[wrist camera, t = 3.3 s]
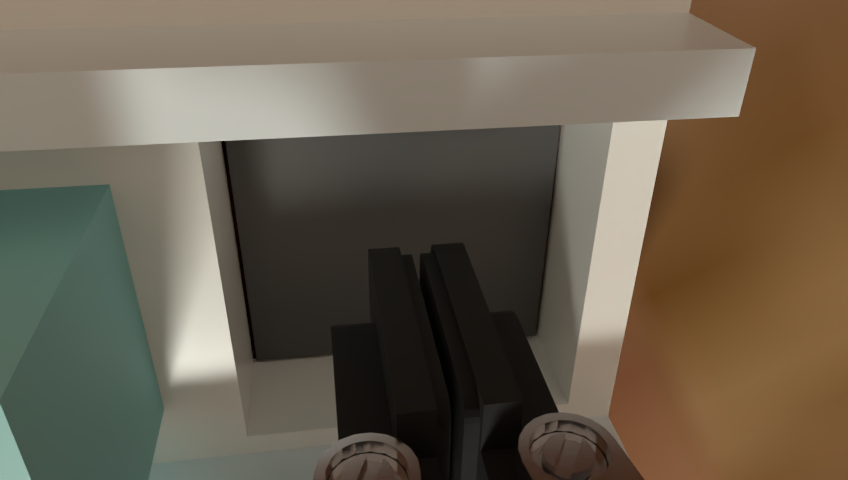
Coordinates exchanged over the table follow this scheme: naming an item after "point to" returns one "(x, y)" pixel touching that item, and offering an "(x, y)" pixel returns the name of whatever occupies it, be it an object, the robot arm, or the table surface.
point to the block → (71, 342)
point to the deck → (354, 179)
